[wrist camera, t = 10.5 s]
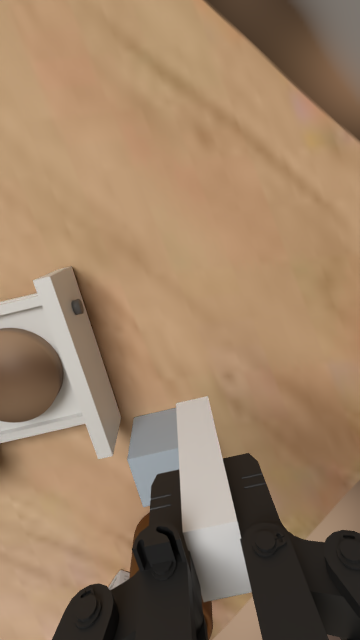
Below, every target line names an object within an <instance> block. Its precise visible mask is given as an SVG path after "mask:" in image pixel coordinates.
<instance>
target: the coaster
mask: <svg viewBox="0 0 360 640" xmlns="http://www.w3.org/2000/svg"><path fill="white" fill-rule="evenodd" d="M63 378H64V372H63V366H62V362H61V360H60V357H59V355H58V354H57V352H56V351H55V349H54V348H53V347H52V346H51V345H50V344H49V343H48V342H47V341H46V340H45V339H43V338H42V337H40V336H39V335H37V334H35V333H33V332H31V331H28V330H24V329H19V328H2V329H0V421H3V422H12V423H16V422H24V421H28V420H32V419H34V418H36V417H38V416H40V415H41V414H43V413H44V412H45V411H46V410H47V409H48V408H49V407H50V406H51V405H52V403H53V402H54V400H55V398H56V397H57V395H58V393H59V392H60V389H61V387H62V384H63Z"/></svg>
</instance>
